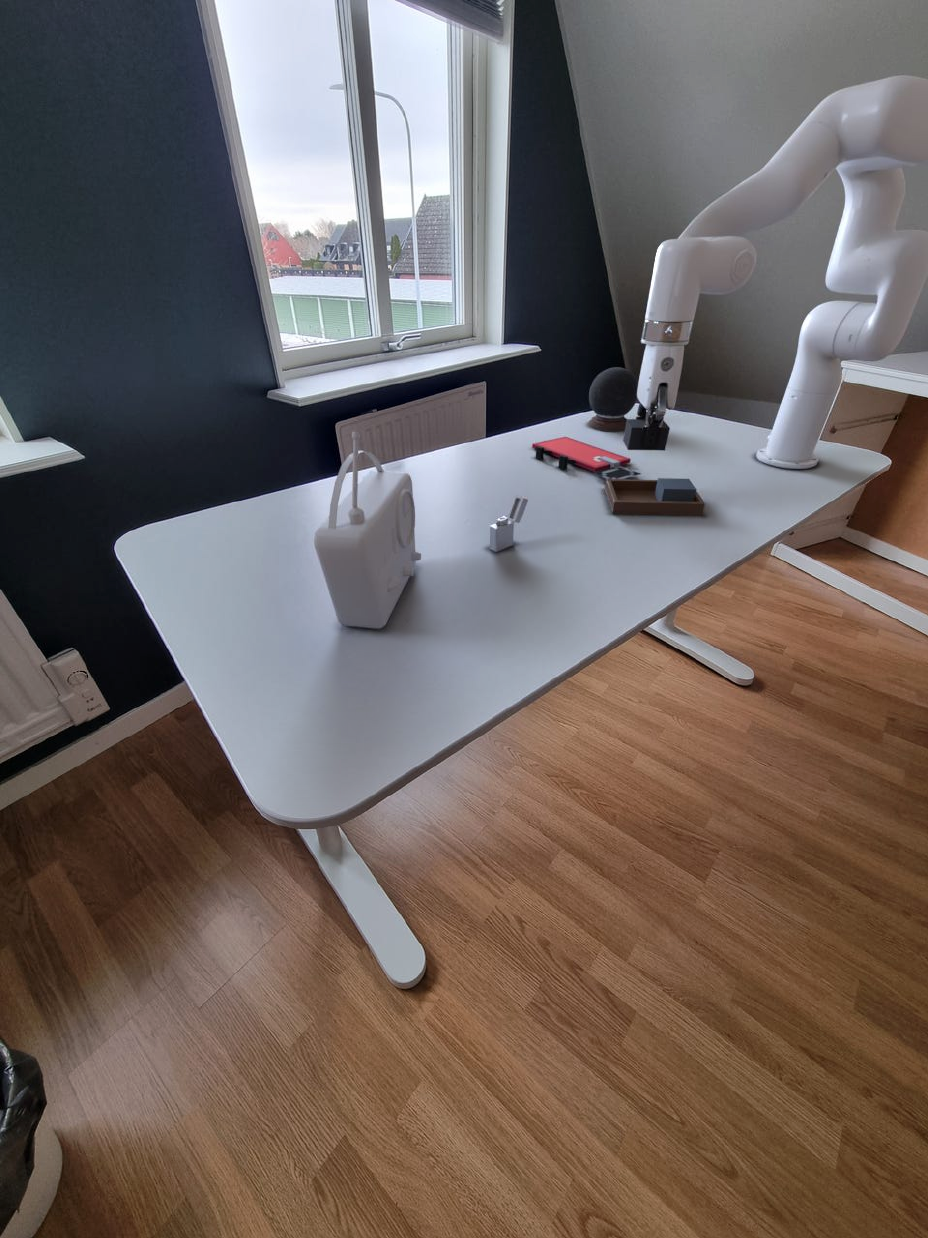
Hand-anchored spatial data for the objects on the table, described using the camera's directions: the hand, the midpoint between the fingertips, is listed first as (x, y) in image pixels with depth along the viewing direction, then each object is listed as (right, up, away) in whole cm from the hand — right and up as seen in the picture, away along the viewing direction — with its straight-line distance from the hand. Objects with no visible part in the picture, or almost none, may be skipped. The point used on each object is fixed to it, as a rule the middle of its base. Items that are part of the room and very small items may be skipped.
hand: (644, 442), depth 92 cm
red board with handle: (-5, +5, +26) cm, 27 cm away
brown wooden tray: (+4, -10, +7) cm, 12 cm away
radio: (-46, -29, -18) cm, 57 cm away
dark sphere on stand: (+8, +23, +50) cm, 55 cm away
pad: (+8, -9, +6) cm, 14 cm away
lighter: (-26, -20, -6) cm, 33 cm away
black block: (0, 0, 0) cm, 1 cm away
